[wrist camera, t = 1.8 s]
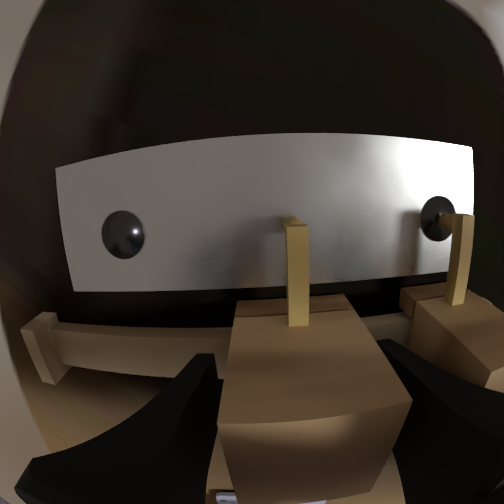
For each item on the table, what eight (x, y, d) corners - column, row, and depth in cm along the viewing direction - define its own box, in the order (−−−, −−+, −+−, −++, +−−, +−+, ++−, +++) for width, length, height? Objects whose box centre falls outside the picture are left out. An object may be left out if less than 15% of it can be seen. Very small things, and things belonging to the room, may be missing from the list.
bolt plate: (462, 266, 10) (468, 269, 10) (78, 287, 11) (72, 292, 10) (466, 148, 9) (472, 147, 8) (61, 168, 9) (54, 168, 9)
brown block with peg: (335, 382, 11) (369, 491, 6) (245, 389, 12) (238, 505, 6) (345, 211, 10) (446, 255, 4) (230, 216, 10) (190, 272, 4)
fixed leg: (435, 362, 11) (495, 439, 5) (385, 374, 11) (436, 469, 6) (461, 208, 9) (571, 239, 4) (405, 207, 9) (525, 243, 4)
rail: (471, 339, 11) (491, 358, 9) (61, 361, 12) (42, 381, 10) (484, 287, 10) (509, 303, 8) (43, 311, 11) (19, 329, 9)
